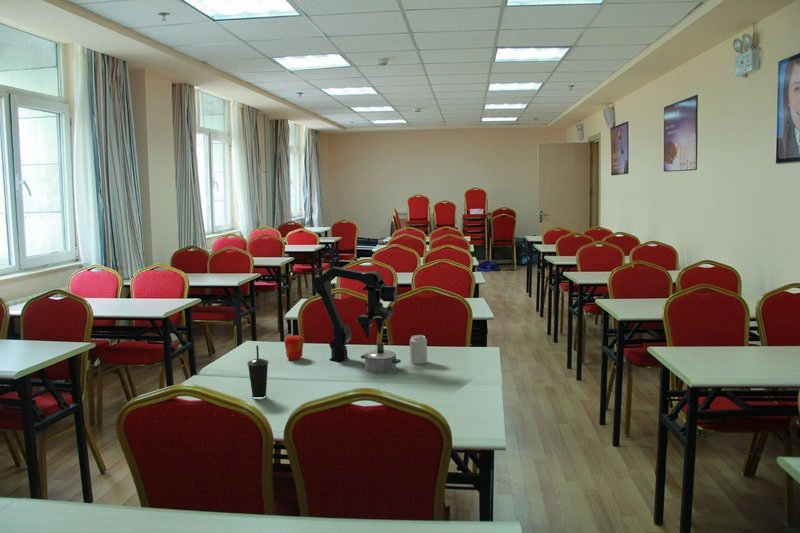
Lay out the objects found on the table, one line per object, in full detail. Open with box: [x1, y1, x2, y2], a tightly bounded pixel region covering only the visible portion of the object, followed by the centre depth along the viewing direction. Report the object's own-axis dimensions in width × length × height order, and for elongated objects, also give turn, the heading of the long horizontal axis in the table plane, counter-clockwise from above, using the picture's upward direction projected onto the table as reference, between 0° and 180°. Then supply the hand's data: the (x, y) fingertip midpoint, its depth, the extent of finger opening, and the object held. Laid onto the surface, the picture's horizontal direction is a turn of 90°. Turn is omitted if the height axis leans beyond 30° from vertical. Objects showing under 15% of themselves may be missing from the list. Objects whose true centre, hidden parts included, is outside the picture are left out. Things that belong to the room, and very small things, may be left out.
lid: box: [365, 342, 396, 360], centre depth 271 cm, size 13×13×5 cm
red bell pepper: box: [284, 333, 304, 361], centre depth 289 cm, size 9×8×12 cm
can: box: [409, 334, 428, 366], centre depth 281 cm, size 8×8×12 cm
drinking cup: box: [247, 345, 270, 398], centre depth 236 cm, size 8×8×20 cm
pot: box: [360, 353, 402, 375], centre depth 272 cm, size 18×13×6 cm
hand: (373, 335), depth 281 cm, fingers open, 9 cm apart
